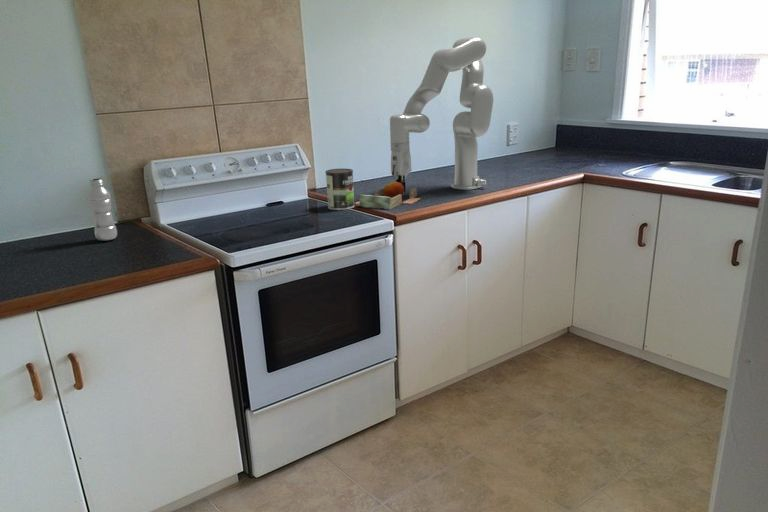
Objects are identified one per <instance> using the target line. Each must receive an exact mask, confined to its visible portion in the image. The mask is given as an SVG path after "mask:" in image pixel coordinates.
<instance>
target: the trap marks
mask: <svg viewBox="0 0 768 512" xmlns="http://www.w3.org/2000/svg"><path fill="white" fill-rule="evenodd" d="M420 199H421V200H422V198H420V197H414V198H410V199H409V198H408V199H406V200H404V201H402V204H404V205H412V204H415V203H417V202H418V200H419V201H421V200H420ZM359 204H360V200H359V201H357V202H354V205H359ZM402 204H401V205H402Z"/></svg>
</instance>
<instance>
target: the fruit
mask: <svg viewBox="0 0 768 512" xmlns="http://www.w3.org/2000/svg"><path fill="white" fill-rule="evenodd" d="M383 188H384V194H385V197H391V198H393V197H395V196H397V195H402V196H403V195H404V193H405V192H404V186H403V185H402V184H401V183H400V182H396V181H391V182H389V183H386V185H385V186H384V187H383ZM402 200H404V199H403V198H402Z"/></svg>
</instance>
